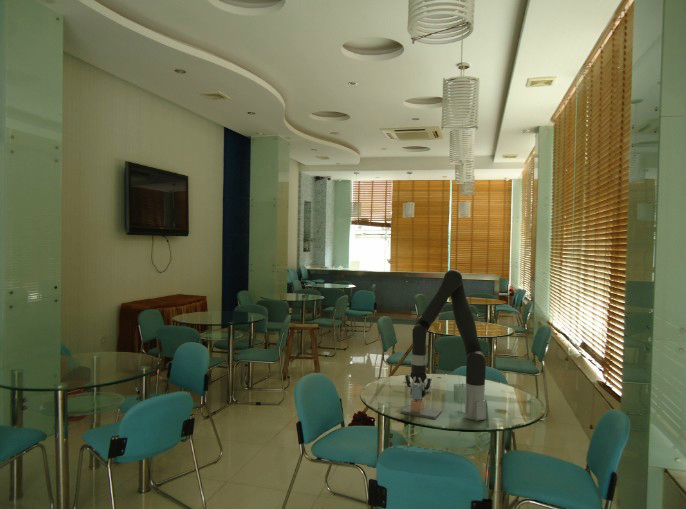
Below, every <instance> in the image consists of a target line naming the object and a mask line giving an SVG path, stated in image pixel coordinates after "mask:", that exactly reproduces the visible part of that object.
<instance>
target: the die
mask: <svg viewBox="0 0 686 509" xmlns="http://www.w3.org/2000/svg"><path fill="white" fill-rule="evenodd" d="M424 382H425V387H426V385H427V379H425V381H424ZM416 384H417V385H419V386H420V384H419V383H416ZM416 384H415V385H416ZM421 384H422V383H421ZM432 387H433V385H432V383H431V384H430V387H429V389H428V390H425V393H428V392H429V390H430V389H432Z"/></svg>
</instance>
